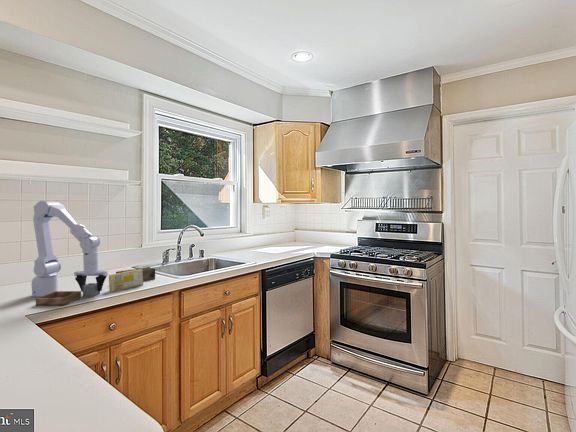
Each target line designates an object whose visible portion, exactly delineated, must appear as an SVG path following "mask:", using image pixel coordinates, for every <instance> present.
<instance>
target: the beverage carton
mask: <svg viewBox="0 0 576 432" xmlns="http://www.w3.org/2000/svg"><path fill="white" fill-rule="evenodd" d="M140 269H142V271H143V282H145V281H149V280H153V279H156V268H154V267H150V266H146V267H141V268H133V269H127V270H126V269H125V270H120V271H116V272H115V274H117V273H122V272H128V271H134V270H140Z"/></svg>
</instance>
